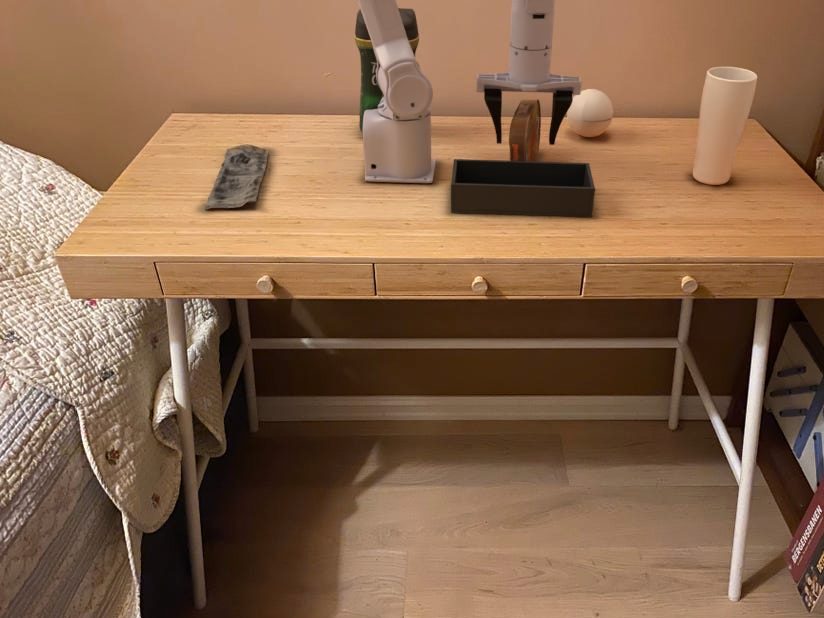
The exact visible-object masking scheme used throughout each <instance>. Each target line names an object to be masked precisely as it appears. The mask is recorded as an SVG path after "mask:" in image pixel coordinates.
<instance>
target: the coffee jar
mask: <svg viewBox="0 0 824 618" xmlns="http://www.w3.org/2000/svg"><path fill="white" fill-rule="evenodd" d="M398 10H399V13H400V16H401V19H402V22H403V26H404V29H405V32H406V35H407V38H408V41H409V44H410V46H411V49H412V51H413V54H414V56H415V57H416V52H417V48H418V46H419V42H420V33H419V27H418V21H417V20H418V19H417V15H416V12H415V10H414V9H413V8H405V7H404V8H403V7H402V8H401V7H398ZM354 29H355V30H354V41H355V45H356V47H357V49H358V52H359V56H360V57H359V58H360V96H359V129H360V132H361V133H362V134H363V117H364V112H365V110H373V109H378V105H379V104H380V101H381V100H382V98H383V97H384V94H383V92H382V90H381V89H380V87H379V86H378V83H377V79H376V71H377V59H376V56H375V53H374V49H373V45H372V41H371V38H370V35H369V32H368V29H367V27H366V24H365V21H364V18H363V15H362V12H361V9H360V8H359V9H358V11H357V13H356V20H355V28H354Z"/></svg>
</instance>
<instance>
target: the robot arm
mask: <svg viewBox="0 0 824 618" xmlns="http://www.w3.org/2000/svg"><path fill="white" fill-rule="evenodd" d="M511 1H512V2H511V9H510V11H511V12H510V33H509V54H508V55H509V56H508V72H498V73H485V74H484V73H483V74H481V73H480V74H479V73H478V74H477V75H476V93H484V95H483V99H484V102H485V105H486V107H487V109H488V112H489V115H490V118H491V119H492V123H493V127H494V131H495V137H496V144H501V145H502V141H503V139H502V138H503V135H502V134H503V133H502V132H503V131H502V108H503V107H502V106H503V105H502V104H503V92H511V93H512V92H513V93H547V94H548V93H551V94H552V102H551V103H552V104H551V105H552V106H551V119H550V126H549V133H548V143H549V145H550V146H554V145H556V138H557V135H558V132H559V129H560V128H561V124H562V122H563V120H564V118H565V116H566V115H567V111H568V110H569V108H570V106H571V104H572V101H573V97H574V96H575V95H580V93H581V91H582V78H581V77H580V76H569V75H562V74H561V75H560V74H556V73H555V74H554V73H551V65H552V64H551V63H552V62H551V61H552V50H553V36H554V35H553V34H554V20H555V2H556V1H555V0H511ZM357 3H358V6H359V10H360V9H361V12H362V15H363V18H364V21H365V24H366V27H367V29H368V32H369V35H370V38H371V41H372V45H373V49H374V53H375V56H376V59H377V71H376V79H377V83H378V86H379V87H380V89H381V90H382V92H383V94H384V97H383V98H382V100H381V101H380V104H379V105H378V109H373V110H365V112H364V117H363V133H362V145H363V147H362V148H363V161H364V173H365V174H364V181H365V182H374V183H404V184H405V183H409V184H410V183H411V184H432V183H433V182H434V175H435V169H436V163H437V160H436V159H435V158H432V112H431V111H432V107H431V104H432V102H433V98H434V91H433V87H432V83H431V81H430V80H429V79H428V77H427V76H426V75H425V74H424V72H423V71H422V69H421V66H420V63H419V61H417V59H416V55H415V56H414V54H413V51H412V49H411V46H410V44H409V41H408V38H407V35H406V32H405V29H404V26H403V22H402V19H401V16H400V13H399V10H398V8H399V7H398V4H397V0H357ZM573 95H574V96H573Z"/></svg>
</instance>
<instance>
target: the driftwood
mask: <svg viewBox="0 0 824 618" xmlns="http://www.w3.org/2000/svg"><path fill="white" fill-rule="evenodd" d="M269 155H270V153H269V151H268V150H267V149H266V148H262V147H258V146H256V145H254V144H240V145H236V146H233V147H230V148H226V152H225V154H224V160H223V162H222V163H221V164H220V166H221V167H220V168H219V170H218V173H217V176H216V178H215V181H214V183H213V187H212V189H211V191H210V194H209V196H208V197H207V200H206V204H205V206H204V211H207V210H209V209H213V208H214V209H215V208H218V209H221V208H222V209H223V208H225V209H230V208H231V209H233V208H240V207H243V206H244V205H245V204H247V203H257V202H258V200H257V197H258V195H259V190H260V185H261V183H262V180H263V179H264V174H265V171H266V167H267V163H268V156H269Z"/></svg>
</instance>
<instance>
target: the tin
mask: <svg viewBox="0 0 824 618" xmlns="http://www.w3.org/2000/svg"><path fill="white" fill-rule="evenodd" d="M541 124H542V111H541V102H540V100H539V99H538V98H537V99H522V100H520V101H519V103H518V105H517V107H516V110H515V111H514V114H513V116H512V119H511V121H510V126H509V133H508V146H509V161H536V160H537V158H538V154H539V151H540V143H541V126H542V125H541Z"/></svg>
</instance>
